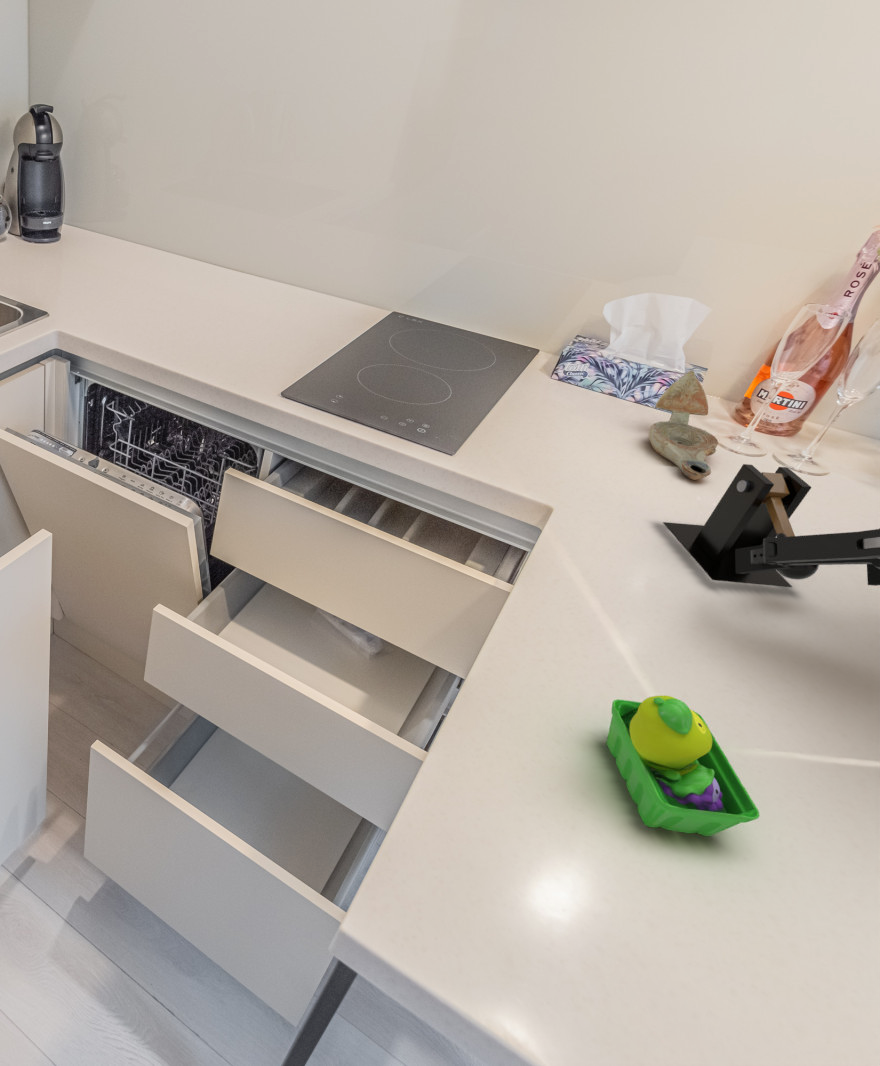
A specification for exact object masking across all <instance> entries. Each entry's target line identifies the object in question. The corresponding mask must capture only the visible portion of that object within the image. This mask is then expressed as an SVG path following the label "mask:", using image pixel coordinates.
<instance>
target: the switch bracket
mask: <svg viewBox="0 0 880 1066" xmlns="http://www.w3.org/2000/svg"><path fill="white" fill-rule="evenodd" d="M774 473H779V474H782V475H783V478H784V480H785V483H786V485H787V488H788V491H789V493H790V494H788V495H787V496H785V497H784V498H782V499H781V501H782V503H783V506H784V509H785V511H786V514H787V516H788V519H789V520H790V519H791V517H792V515H793V514H794V513H795V512H796V510H797V509H798V508H799V506H800V504H801V503H802V502H803V500H804V499H805V497H806V496H807V495H808V494H809V492H810V490H811V489H812V486H811V485H809V484H808V483H807V482H806V481H805V480H804V479H802V478H801V477H800V476H799V475H798V474H796V473H795V472H794V471H793V470H791V469H790V468H789V467H788V466H787V467H785V466H778V468H777V469H776V470H775V472H774ZM773 486H774V484H773V483H772V482H771V481H770V480H769V479H768V478H766V477H765V476H764V475H763V474H762V472H761V471H760V470H759V469H757V467H755V466H754V465H753V464H747V463H743V464H742V466H741V467H740V468H739V470H738V472H737V473H736V474H735V476H734V478H733V480H732V481H731V483H730V484H729V486H728V487H727V489H726V491H725V492H724V493H723V495H722V497H721V498H720V500H719V502H718V503H717V504H716V506H715V508H714V509H713V511H711V514H710V515H709V517H708V518H707V520H706V521H705V523H704V524H703V525H702V524H701V525H700V524H690V523H680V522H679V523H677V522H667V521H663V522H662V524H664V526H665V527H666V528H667V529H668V530H669V532H670V533H671V534H672V535H673V537H675V538H676V540H677V541H678V542H679V543H680V544H681V545H682V547H683V548H684V549H685V550H686V551H687V553H688V554H690V556H691V557H692V558H693V559H694V561H695V562H696V563H697V564H698V565H699V567H700V568H701V569H702V570H703V571H704V572H705V573H706V574H707V576H708V577H709V578H710V579H711V580H712V581H716V582H719V581H720V582H727V583H728V582H729V583H740V584H750V585H751V584H752V585H762V586H774V587H783V588H784V587H785V588H793V586H792V585H791V584H790V582H789V581H788V580H786V579H785V578H784V576H783V575H781V574H780V573H779V572H778V571H777V570H771V571H763V572H754V573H746V574H739V573H736V560H735V549H740V548H746V547H752V546H758V545H763V539H765V538H768V537H774V538H777V533H776V531H775V528H774V525H773V523H772V520H771V517H770V515H769V512H768V509H767V506H766V504H765V503H762V502H763V500H764V499H765V497H766V496H767V494H768V493H769V492H770V490H771V489H772V487H773Z"/></svg>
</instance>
